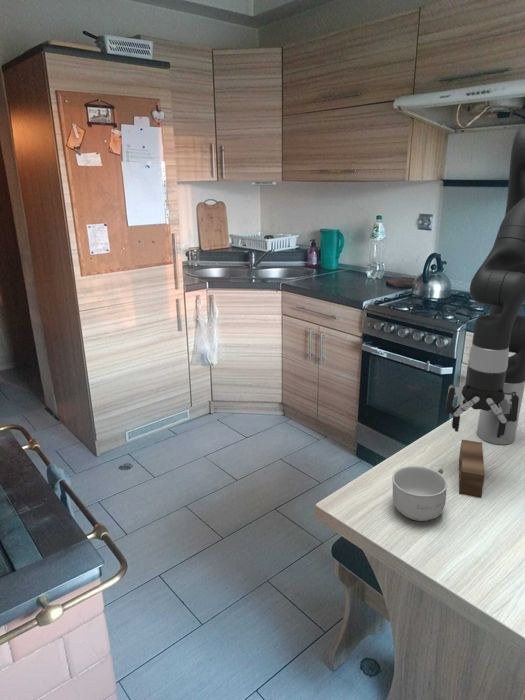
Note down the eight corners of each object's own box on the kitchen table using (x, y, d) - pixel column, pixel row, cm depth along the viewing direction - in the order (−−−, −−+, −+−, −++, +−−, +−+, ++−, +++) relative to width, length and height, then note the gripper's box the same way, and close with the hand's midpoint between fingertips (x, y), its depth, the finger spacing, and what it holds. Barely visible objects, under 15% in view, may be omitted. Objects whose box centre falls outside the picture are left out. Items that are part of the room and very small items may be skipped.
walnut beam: (458, 460, 121) (461, 439, 119) (478, 464, 119) (482, 442, 117) (458, 494, 109) (462, 471, 106) (480, 498, 107) (484, 475, 105)
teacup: (418, 536, 97) (422, 502, 94) (378, 506, 105) (381, 474, 102) (464, 510, 103) (469, 478, 101) (423, 484, 112) (427, 453, 109)
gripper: (522, 362, 105) (510, 430, 110) (451, 355, 110) (442, 420, 115) (527, 375, 98) (514, 446, 104) (451, 367, 103) (442, 435, 108)
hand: (476, 432), depth 109 cm, fingers open, 8 cm apart
